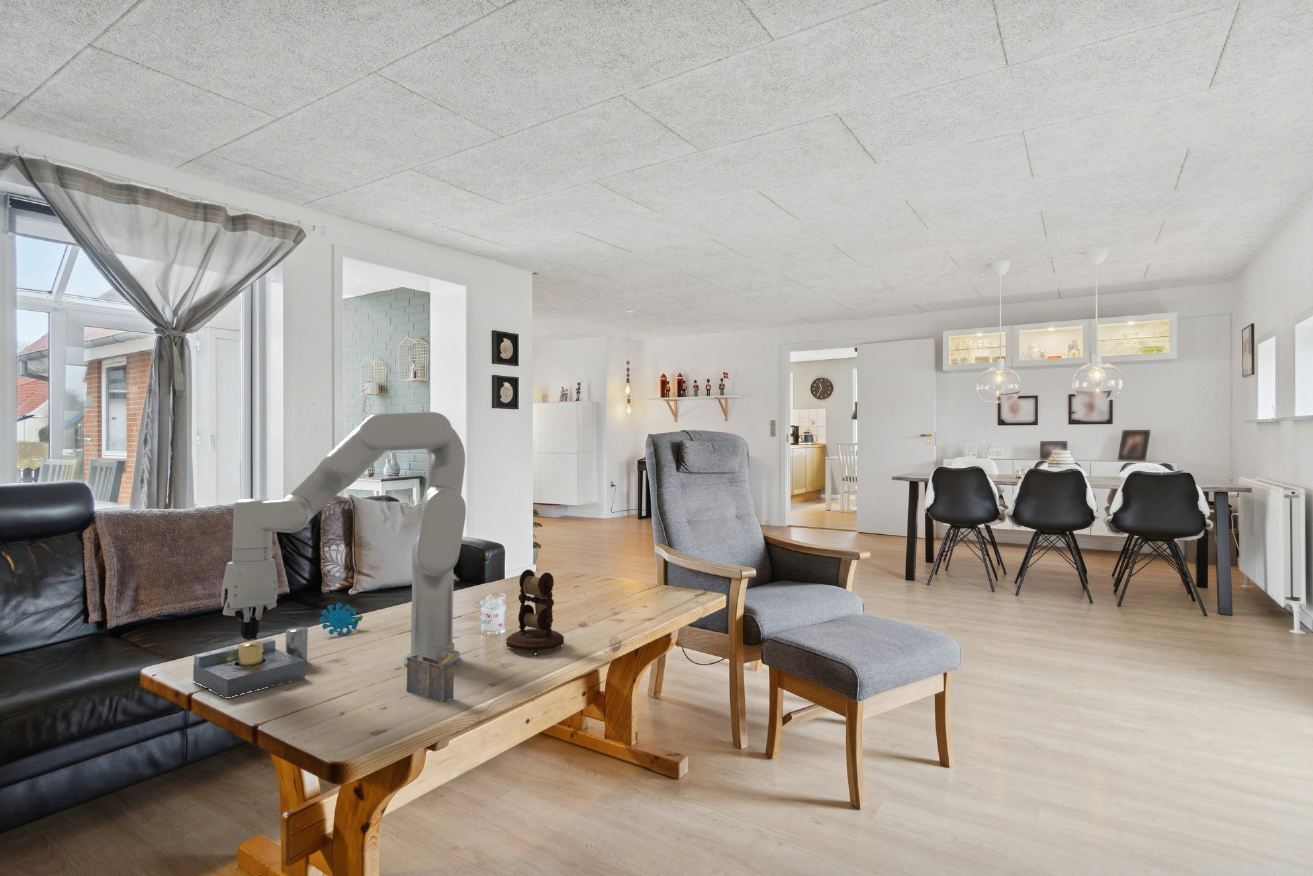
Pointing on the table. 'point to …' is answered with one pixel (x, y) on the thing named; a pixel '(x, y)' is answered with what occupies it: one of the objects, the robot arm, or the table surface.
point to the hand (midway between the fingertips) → (249, 638)
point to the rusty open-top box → (431, 677)
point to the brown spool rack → (535, 615)
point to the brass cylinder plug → (250, 653)
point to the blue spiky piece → (340, 619)
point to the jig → (245, 670)
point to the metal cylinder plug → (297, 642)
